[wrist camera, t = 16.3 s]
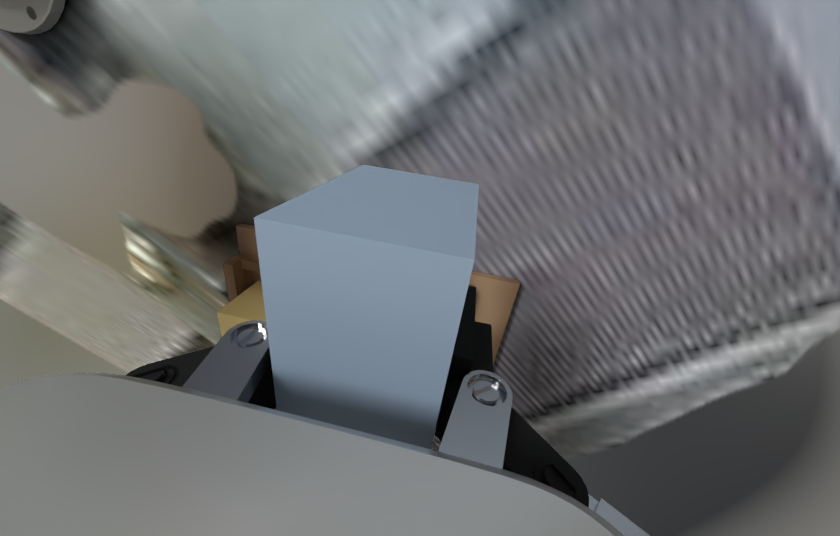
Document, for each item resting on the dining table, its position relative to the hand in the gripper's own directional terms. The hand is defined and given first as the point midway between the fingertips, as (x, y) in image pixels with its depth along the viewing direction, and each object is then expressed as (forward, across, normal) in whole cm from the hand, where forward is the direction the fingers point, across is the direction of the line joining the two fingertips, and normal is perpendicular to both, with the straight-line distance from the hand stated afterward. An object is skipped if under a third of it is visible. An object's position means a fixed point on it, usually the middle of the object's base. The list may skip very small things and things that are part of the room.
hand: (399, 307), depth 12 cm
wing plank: (+1, 0, 0) cm, 1 cm away
